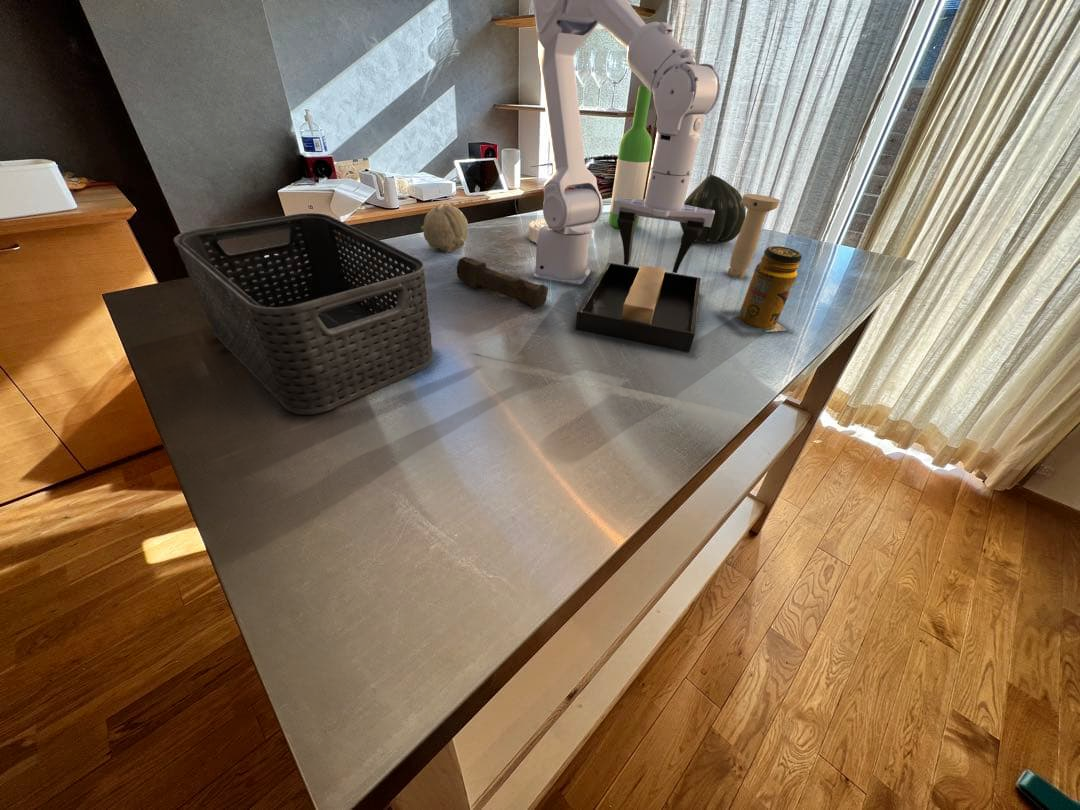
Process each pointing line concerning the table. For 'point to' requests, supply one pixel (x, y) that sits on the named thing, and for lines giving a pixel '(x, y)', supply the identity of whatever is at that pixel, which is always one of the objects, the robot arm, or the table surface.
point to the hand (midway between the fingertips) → (650, 266)
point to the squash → (718, 209)
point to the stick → (643, 295)
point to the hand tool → (500, 282)
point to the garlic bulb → (445, 228)
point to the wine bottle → (633, 156)
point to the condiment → (770, 288)
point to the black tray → (666, 329)
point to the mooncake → (535, 229)
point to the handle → (750, 232)
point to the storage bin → (313, 308)
